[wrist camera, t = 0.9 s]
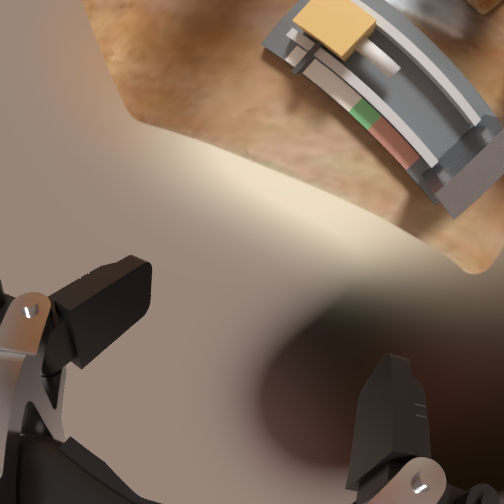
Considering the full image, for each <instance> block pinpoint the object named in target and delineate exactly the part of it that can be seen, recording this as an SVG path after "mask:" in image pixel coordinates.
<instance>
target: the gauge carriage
mask: <svg viewBox="0 0 504 504" xmlns="http://www.w3.org/2000/svg"><path fill="white" fill-rule="evenodd" d="M292 21H293V22H294V23H295V24H296V25H297V26H298V27H299V28H300V29H301V30H302V31H304V32H305V33H306V34H308V35H309V36H311V37H312V38H314V39H315V40H316V41H317V42H316V43H315V45H314V46H313V47H312V48H311V49H310V50H309V51H308V52H307V53H306V55H305V56H304V57H303V58H302V59H301V60H300V61H299V63H298V64H297V65H296V66H295V67H294V68H293V70H292V71H291V72H292V73H293V74H294V75H296V74H297V73H298V72H299V71H300V70H301V68H302V67H303V66H304V65H305V64H306V63H307V62H308V61H309V59H310V58H311V57H312V56H313V55H314V54H315V53H316V52H317V50H318V49H319V48H320V47H321V46H322V45H323V46H324V47H326V48H327V49H328V50H330V51H331V52H332V53H334V54H335V55H336V56H337V57H339V58H340V59H341V60H342V61H344V62H345V61H346V60H347V59H348V58H349V57H350V56H351V55H352V54H353V52H354V51H355V50H357V51H358V52H359V53H360V54H361V55H363V56H364V57H365V58H366V59H367V60H369V61H370V62H371V63H372V64H373V65H374V66H375V67H377V68H378V69H379V70H380V71H381V72H382V73H383V74H384V75H385V76H386V77H388V78H389V79H390V78H391V77H392V76H393V75H394V74H395V73H396V72H397V71H398V70H399V69H400V68H401V67H400V66H399V65H397V64H396V63H395V62H394V61H393V60H392V59H391V58H390V57H389V56H388V55H386V54H385V53H384V52H383V51H382V50H381V49H380V48H378V47H377V46H376V45H375V44H374V43H372V42H371V41H370V40H369V39H368V37H369V36H370V35H371V34H372V33H373V32H374V29H375V25H376V21H377V20H376V19H375V18H373V17H372V16H371V15H370V14H368V13H367V12H366V11H364V10H363V9H362V8H360V7H359V6H357V5H356V4H355V3H353V2H352V1H350V0H310V1H309V2H308V4H307V5H306V6H305V7H304V8H303V9H302V10H301V11H300V12H299V13H298V14H297V16H296V17H295V18H294V19H293V20H292Z"/></svg>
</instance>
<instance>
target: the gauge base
mask: <svg viewBox="0 0 504 504" xmlns="http://www.w3.org/2000/svg"><path fill="white" fill-rule="evenodd" d="M309 1H310V0H299V1H298V2H297V3H296V4H295V5H294V6H293V8H292V9H291V10H290V11H289V12H288V13H287V14H286V15H285V17H284V18H283V19H282V20H281V21H280V22H279V23H278V25H277V26H276V27H275V28H274V29H273V31H272V32H271V33H270V34H269V35H268V37H267V38H266V39H265V40H264V41H263V43H262V44H261V45H263V46H264V47H266V48H267V49H269V50H270V51H272V52H273V53H274V54H276V55H277V56H279V57H280V58H281V59H283V60H284V61H286V62H287V63H288V64H290V65H291V66H292V67H295V66H296V65H297V64H298V63H299V61H300V60H301V59H302V58H303V57H304V56H305V55H306V53H307V52H308V51H309V50H310V49H311V48H312V47H313V46H314V45H315V43H316V42H317V41H316V40H315V39H314V38H312V37H311V36H309V35H308V34H306V33H305V32H304V31H302V30H301V29H300V28H299V27H298V26H297V25H296V24H295V23H294V22H293V21H292V20H293V19H294V18H295V17H296V16H297V14H298V13H299V12H300V11H301V10H302V9H303V8H304V7H305V6H306V5H307V4H308V2H309ZM350 1H352V2H353V3H355V4H356V5H357V6H359V7H360V8H362V9H363V10H364V11H366V12H367V13H368V14H370V15H371V16H372V17H373V18H375V19H376V20H377V21H376V25H375V29H374V32H373V33H372V34H371V35H370V36H369V37H368V39H369V40H370V41H371V42H372V43H374V44H375V45H376V46H377V47H378V48H380V49H381V50H382V51H383V52H384V53H385V54H386V55H388V56H389V57H390V58H391V59H392V60H393V61H394V62H395V63H396V64H397V65H399V66H400V67H401V68H400V69H399V70H398V71H397V72H396V73H395V74H394V75H393V76H392V77H391V78H390V79H389V78H388V77H386V76H385V75H384V74H383V73H382V72H381V71H380V70H379V69H378V68H377V67H375V66H374V65H373V64H372V63H371V62H370V61H369V60H367V59H366V58H365V57H364V56H363V55H361V54H360V53H359V52H358V51H357V50H355V51H354V52H353V54H352V55H351V56H350V57H349V58H348V59H347V60H346V61H345V62H344V61H342V60H341V59H340V58H339V57H337V56H336V55H335V54H334V53H332V52H331V51H330V50H328V49H327V48H326V47H324V46H323V45H322V46H321V47H320V48H319V49H318V50H317V52H316V53H315V54H314V55H313V56H312V57H311V58H310V59H309V61H308V62H307V63H306V64H305V65H304V66H303V67H302V68H301V70H300V71H299V72H300V73H302V74H303V75H304V76H305V77H307V78H308V79H309V80H311V81H312V82H313V83H314V84H316V85H317V86H318V87H319V88H320V89H322V90H323V91H324V92H325V93H326V94H328V95H329V96H330V97H331V98H332V99H333V100H335V101H336V102H337V103H338V104H339V105H340V106H341V107H343V108H344V109H345V110H346V111H347V112H348V113H349V114H350V115H351V116H353V117H354V118H355V119H356V120H357V121H358V122H359V123H360V124H361V125H362V126H363V127H364V128H365V129H366V130H367V131H368V132H369V133H370V134H371V135H372V136H373V137H374V138H375V139H376V140H377V141H378V142H379V143H380V144H381V145H382V146H383V147H384V148H385V149H386V150H387V151H388V152H389V153H390V154H391V155H392V156H393V157H394V158H395V159H396V160H397V162H398V163H399V164H400V165H401V166H402V167H403V168H404V169H405V170H406V171H407V173H408V174H409V175H410V176H411V177H412V178H413V180H414V181H415V182H416V183H417V184H418V185H419V187H420V188H421V189H422V190H423V191H424V193H425V194H426V195H427V196H428V197H429V199H430V200H431V201H432V202H433V204H434V205H436V204H437V203H438V202H439V200H438V199H437V197H436V196H435V195H434V193H433V192H432V190H431V188H430V187H429V185H428V184H427V182H426V181H425V179H424V178H423V176H422V174H423V173H424V172H425V171H426V170H427V169H428V168H430V167H431V168H432V167H433V166H434V165H435V164H436V163H437V162H439V161H438V159H439V158H440V157H441V156H442V155H443V154H444V153H446V152H447V151H448V150H449V149H450V148H451V147H452V146H453V145H454V144H455V143H456V142H457V141H458V140H459V139H460V138H461V137H462V136H463V135H464V134H465V133H466V132H467V131H468V130H469V129H470V128H471V127H472V126H476V125H477V124H478V123H479V122H480V121H481V119H480V118H481V117H482V116H483V115H484V114H486V115H490V116H493V117H496V116H495V115H494V113H493V112H492V110H491V109H490V108H489V106H488V105H487V104H486V102H485V101H484V100H483V98H482V97H481V96H480V94H479V93H478V92H477V91H476V89H475V88H474V87H473V86H472V84H471V83H470V82H469V81H468V79H467V78H466V77H465V76H464V75H463V74H462V72H461V71H460V70H459V69H458V68H457V67H456V66H455V65H454V63H453V62H452V61H451V60H450V59H449V58H448V57H447V56H446V55H445V54H444V53H443V52H442V51H441V50H440V49H439V48H438V47H437V46H436V45H435V44H434V43H433V42H432V41H431V40H430V39H429V38H428V37H427V36H426V35H425V34H424V33H423V32H422V31H421V30H419V29H418V28H417V27H416V26H415V25H414V24H413V23H412V22H410V21H409V20H408V19H407V18H406V17H405V16H403V15H402V14H401V13H400V12H399V11H397V10H396V9H395V8H394V7H392V6H391V5H390V4H389V3H387V2H386V1H385V0H350Z"/></svg>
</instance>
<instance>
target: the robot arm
mask: <svg viewBox="0 0 504 504" xmlns="http://www.w3.org/2000/svg"><path fill="white" fill-rule="evenodd" d="M151 280H152V266H151V264H150V263H149V262H146V261H144V260H142V259H140V258H138V257H135V256H133V255H129V256H128V257H125V258H124V259H122V260H120V261H118V262H116V263H111V264H108V265H103V266H100V267H99V268H97V269H95V270H93V271H91V272H90V274H86V275H84V276H83V277H81V279H77V280H76V281H74V282H72V283H70V284H69V285H67V286H65V287H64V288H62V289H60V290H59V291H57V292H55V293H54V294H52V295H50V296H49V297H47V296H45V295H43V294H41V293H36V292H30V293H25V294H22V295H20V296H18V297H16V298H15V297H12V296H9V295H7V294H4V292H3V288H2V284H1V280H0V504H161V503H157V502H154V501H150V500H147V499H144V498H142V497H140V496H138V495H137V494H136V493H134V492H133V491H132V490H131V489H130V488H129V487H128V486H127V485H126V484H125V483H124V482H123V481H122V480H121V479H120V478H119V477H118V476H117V475H116V474H115V473H114V472H113V471H112V469H111V468H110V467H109V466H108V465H107V464H106V463H105V462H104V461H102V460H101V459H100V458H98V457H97V456H95V455H94V454H93V453H91V452H90V451H89V450H87V449H86V448H85V447H83V446H82V445H81V444H80V443H78V442H77V441H76V440H74V439H73V438H72V437H70V438H68V439H67V441H66V442H65V438H64V431H63V426H62V420H61V413H62V402H63V394H64V385H65V379H66V364H67V363H69V362H70V361H71V362H73V363H74V364H75V365H76V366H78V367H79V368H81V369H83V368H84V367H85V366H86V365H87V364H88V363H90V362H91V361H92V360H93V359H94V358H95V357H97V356H98V355H99V354H100V353H101V352H102V351H103V350H104V349H106V348H107V347H108V346H109V345H110V344H112V343H113V342H114V341H115V340H116V339H117V338H119V337H120V336H121V335H122V334H123V333H124V332H126V330H128V329H129V328H130V327H131V326H132V325H134V324H135V323H136V322H137V321H139V319H141V318H142V317H143V316H144V315H145V313H146V312H147V310H148V308H149V305H150V300H151ZM425 407H426V399H425V392H424V390H423V388H422V387H421V384H420V383H419V381H418V379H416V378H413V377H412V373H411V365H410V361H409V359H405V358H402V357H399V356H396V355H392V354H389V353H387V354H386V355H384V357H383V358H382V360H381V361H380V363H379V364H378V366H377V368H376V369H375V371H374V372H373V374H372V375H371V377H370V378H369V380H368V381H367V382H366V384H365V385H364V388H363V389H362V391H361V394H360V396H359V400H358V406H357V415H356V423H355V431H354V440H353V446H352V453H351V459H350V465H349V471H348V477H347V482H346V488H345V489H347V490H353V491H358V493H357V498H356V500H355V501H353V502H352V503H351V504H500V502H499V498H498V495H497V493H496V491H495V490H494V489H493V488H492V487H491V486H489V485H487V484H479V485H476V486H474V487H473V488H472V489H470V490H469V491H467V492H465V491H463V490H461V489H458V488H456V487H453V486H451V485H449V484H447V483H446V477H445V474H444V472H443V470H442V468H441V467H440V466H439V465H438V464H437V463H436V462H435V461H433V460H431V452H430V437H429V426H428V419H427V408H425Z"/></svg>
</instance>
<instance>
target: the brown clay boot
mask: <svg viewBox="0 0 504 504" xmlns="http://www.w3.org/2000/svg"><path fill="white" fill-rule="evenodd" d="M466 1H467V2H468V3H469V4H470V5H471V6H472V7H473V8H474V9H475V10H476V11H477V12H478V13H480V14H486V13H487V12H489V11H490V10H491V9H492V8H494V7H495V6H496V5H497V4H499V3H500V2H501V1H502V0H466Z"/></svg>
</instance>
